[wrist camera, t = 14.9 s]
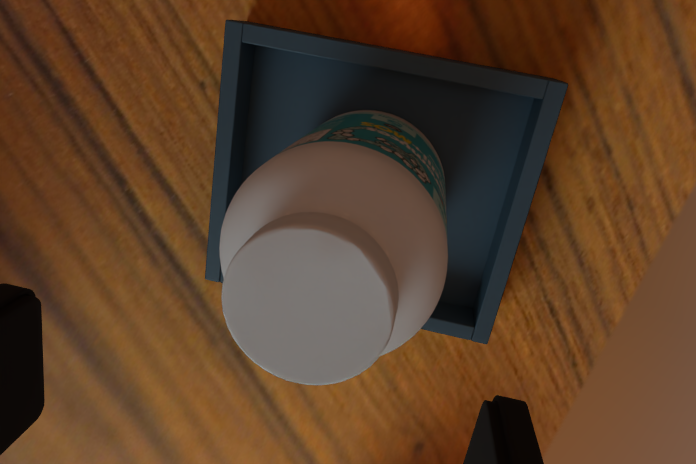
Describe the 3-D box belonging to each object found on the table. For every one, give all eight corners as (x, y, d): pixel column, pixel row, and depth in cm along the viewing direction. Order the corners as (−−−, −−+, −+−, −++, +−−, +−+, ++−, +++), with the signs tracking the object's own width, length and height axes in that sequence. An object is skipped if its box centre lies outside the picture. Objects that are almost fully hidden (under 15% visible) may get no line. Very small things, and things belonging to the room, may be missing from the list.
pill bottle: (474, 205, 26) (507, 362, 13) (350, 277, 28) (281, 467, 16) (389, 73, 25) (339, 112, 12) (266, 160, 27) (117, 267, 14)
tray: (223, 259, 30) (204, 279, 28) (245, 21, 25) (225, 19, 23) (483, 319, 29) (487, 344, 26) (555, 78, 24) (568, 83, 22)
